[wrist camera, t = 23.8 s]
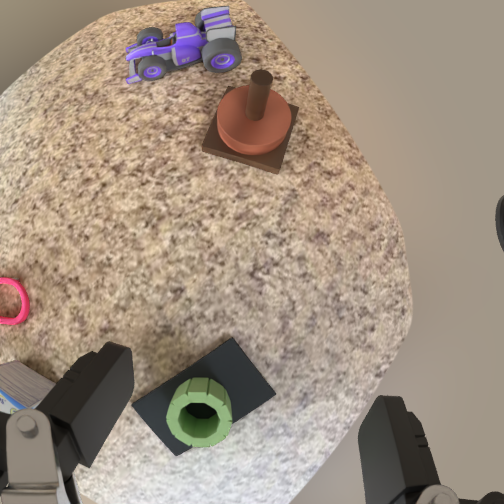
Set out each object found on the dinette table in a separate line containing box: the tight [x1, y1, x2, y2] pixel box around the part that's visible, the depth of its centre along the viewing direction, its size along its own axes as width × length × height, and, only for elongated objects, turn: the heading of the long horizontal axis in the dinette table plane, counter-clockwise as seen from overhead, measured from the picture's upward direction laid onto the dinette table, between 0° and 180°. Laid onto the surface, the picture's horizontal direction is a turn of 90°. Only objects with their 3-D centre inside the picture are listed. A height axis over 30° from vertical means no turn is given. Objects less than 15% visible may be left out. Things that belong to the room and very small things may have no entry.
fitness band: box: [0, 277, 30, 325], centre depth 29 cm, size 8×6×2 cm
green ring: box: [166, 378, 232, 447], centre depth 28 cm, size 6×6×5 cm
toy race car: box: [126, 6, 242, 84], centre depth 33 cm, size 10×15×6 cm, turn 103°
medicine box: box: [0, 360, 56, 414], centre depth 25 cm, size 8×4×9 cm, turn 70°
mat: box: [132, 338, 276, 456], centre depth 31 cm, size 14×8×1 cm, turn 126°
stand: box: [202, 70, 299, 174], centre depth 30 cm, size 9×9×10 cm
